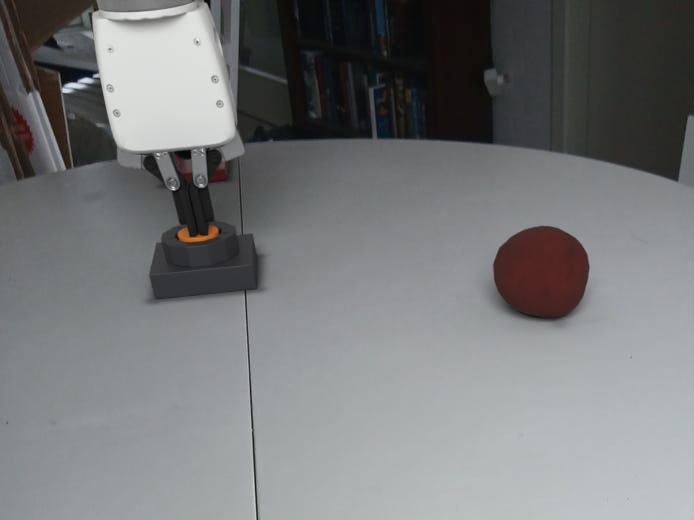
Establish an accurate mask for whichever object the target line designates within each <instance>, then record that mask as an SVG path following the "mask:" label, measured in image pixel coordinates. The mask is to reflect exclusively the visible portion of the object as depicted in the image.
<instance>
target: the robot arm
mask: <svg viewBox="0 0 694 520" xmlns="http://www.w3.org/2000/svg"><path fill="white" fill-rule="evenodd" d="M96 4H97V8H98V10H96V11H94V12H92V13H91V18H92V19H91V21H92V33H93V42H94V51H95V56H96V57H95V58H96V63H97V68H98V74H99V80H100V84H101V90H102V94H103V99H104V104H105V109H106V115H107V119H108V123H109V127H110V130H111V134H112V137H113V140H114V142H115V144H116V161H117V163H118V165H119V166H121V167H123V168H127V169H134V170H139V171H140V170H141V171H142V170H145V171H147V172H149V174H151V175H153V177H155V178H157V179H158V180H159V181H161V182H162V183H163V184H164V183H165V184H166V188H167V189H168V190H170V191H171V194H172V199H173V202H174V207H175V210H176V215H177V219H178V223H179V225H185V224H187V228H188V232H189V236H190V237H196V235H198V231H199V234H202V236H206V235H208V231H209V222H214V221H216V220H215V212H214V207H213V203H212V198H211V194H210V189H209V184H208V183H209V182H210V181H209V180H210V178H211V177H212V175H213V174H214V172H215V171H216V169H217V168H218V166H219V165H220V163H223V162H225V161H228V162H229V161H232V160H234V159H237V158H240V157H242V156H244V154H245V153H246V144H245V141H244V139H243V137H242V134H241V132H240V130H239V127H238V116H237V115H238V114H237V108H236V103H235V102H236V101H235V98H234V93H233V89H232V83H231V80H230V79H231V78H230V76H229V71H228V66H227V63H226V59H225V55H224V54H225V53H224V50H223V46H222V44H221V40H220V36H219V33H218V30H217V27H216V25H215V20H214V17H213V15H212V12H211V10H210V7H209V5H208V3H207V2H205V1H198V0H96ZM207 148H209V149H208V150H207ZM182 150H191V158H192V170H193V173H192V174H191V180H190V181H191V183H190V182H187V179H186V178H185V175H184V174H182V173H181V170H180V168H179V165H178V162H177V160H176V157H175V154H174V152H173V151H182ZM208 181H209V182H208Z"/></svg>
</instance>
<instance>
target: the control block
mask: <svg viewBox="0 0 694 520" xmlns="http://www.w3.org/2000/svg"><path fill="white" fill-rule="evenodd" d="M209 225H213V226H216V227H217V228H218V230H219V235H218V236H216V237H215V238H212V239H208V240H205V241H196V242H184V241H179V238H178V232H179V231H180V230H181V229H183V228H186V227H187V224H185V225H180V224H179V225H176V226H172V227H171V228H169V229H168V230H166V231H164V232H162V233H161V239H160V242H156V243H155V247H154V252H153V256H152V261H151V266H150V271H149V275H148V277H149V280H150V284H151V287H152V291H153V294H154V299H155V300H161V299H171V298H181V297H190V296H200V295H209V294H210V295H211V294H219V293H229V292H238V291H240V292H241V291H248V290H256V289H257V288H258V253H257V249H256V243H255V237H254V233H245V234H237V230H236V226H234V225H233V224H231V223H228V222H226V221H220V220H214V222H209Z"/></svg>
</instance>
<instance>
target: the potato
mask: <svg viewBox="0 0 694 520" xmlns="http://www.w3.org/2000/svg"><path fill="white" fill-rule="evenodd" d="M590 267H591V266H590V261H589V255H588V253H587V251H586V249H585V247H584V245H583V244H582V243H581V242H580V241H579V240H578V238H577V237H575V236H574V235H573V234H570V233H569V232H566V231H565V230H563V229H561V228H560V227H556V226H552V225H551V226H550V225H537V226H531V227H529V228H524V229H523V230H521V231H518V232H517V233H515V234H513V235H512V236H511V237H509V238H508V239H507V240H506V241H505V242H503V243H502V244H501V245H500V246H499V247H498V250H497V253H496V254H495V258H494V260H493V263H492V270H493V281H494V284H495V287H496V290H497V292H498V293H499V295H500V296H501V297H502V299H503V300H504V301H505V303H506V304H507V305H509V306H510V307H512V309H515V310H517V311H518V312H520V313H522V314H525V315H529V316H533V317H539V318H545V319H552V318H553V319H554V318H560V317H564V316H567V315H568V314H569V313H571V312H572V311H573V310H574V309H576V308H577V306H579V305H580V303H581V301H582V299H583V298H584V295H585V291H586V288H587V285H588V281H589V275H590Z"/></svg>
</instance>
